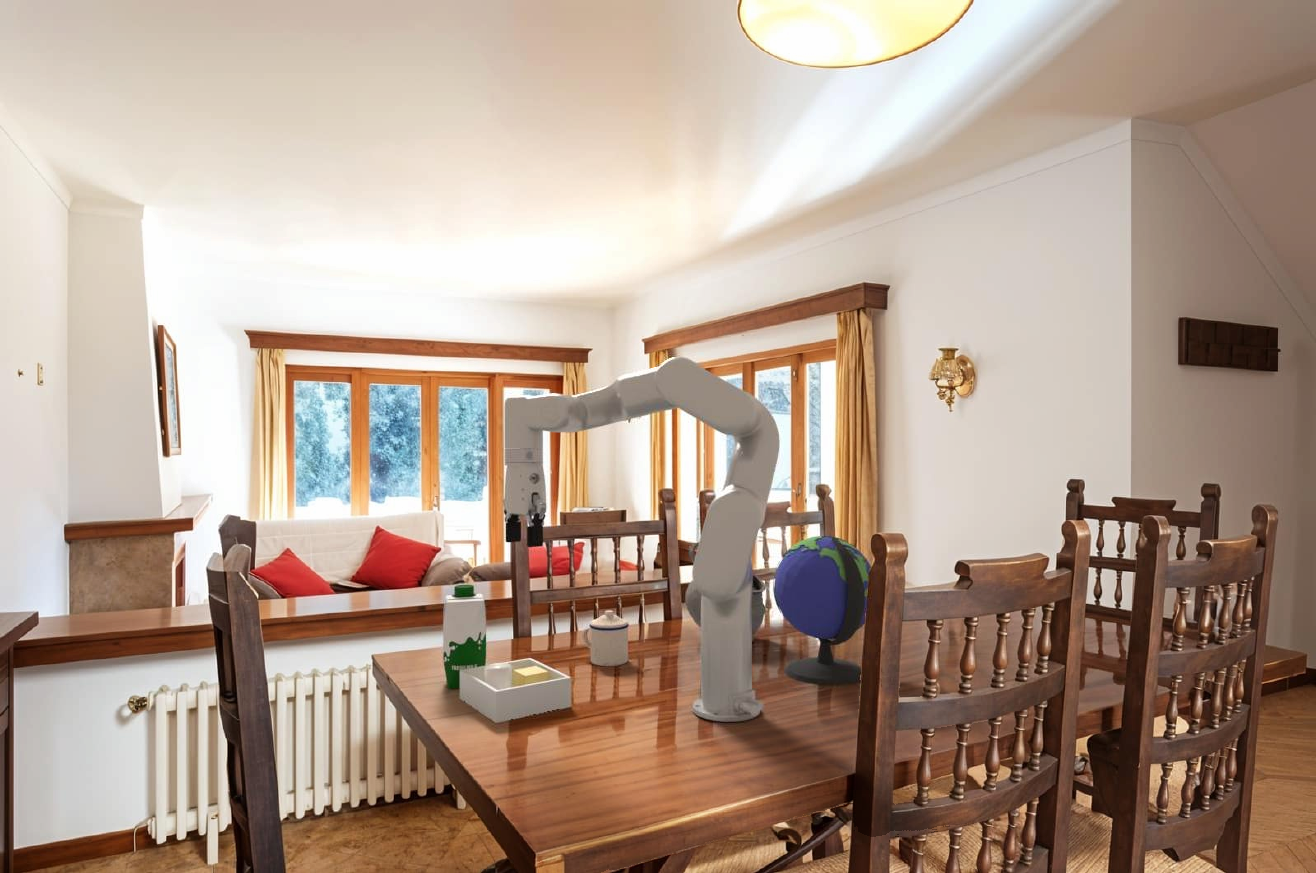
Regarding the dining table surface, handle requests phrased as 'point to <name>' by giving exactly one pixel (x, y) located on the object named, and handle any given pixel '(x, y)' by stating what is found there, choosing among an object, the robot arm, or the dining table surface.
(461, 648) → the milk carton
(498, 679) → the white canister
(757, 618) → the pot
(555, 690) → the tote
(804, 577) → the globe
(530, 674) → the mustard block
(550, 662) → the dining table surface
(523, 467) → the robot arm
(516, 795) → the dining table surface
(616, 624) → the teacup with lid
